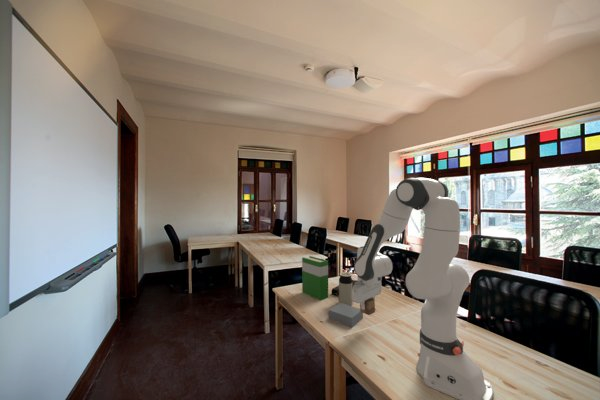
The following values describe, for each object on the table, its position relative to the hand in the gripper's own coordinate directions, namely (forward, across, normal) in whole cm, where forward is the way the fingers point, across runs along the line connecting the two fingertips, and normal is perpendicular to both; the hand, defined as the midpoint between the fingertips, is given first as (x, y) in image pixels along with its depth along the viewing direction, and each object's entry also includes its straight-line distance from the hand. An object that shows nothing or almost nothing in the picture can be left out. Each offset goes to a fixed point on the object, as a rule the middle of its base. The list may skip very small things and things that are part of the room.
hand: (367, 307), depth 117 cm
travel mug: (+10, +15, +26) cm, 32 cm away
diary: (+10, +33, +35) cm, 49 cm away
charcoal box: (+10, 0, +14) cm, 18 cm away
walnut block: (+2, 0, 0) cm, 2 cm away
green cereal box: (+9, +10, +48) cm, 50 cm away
